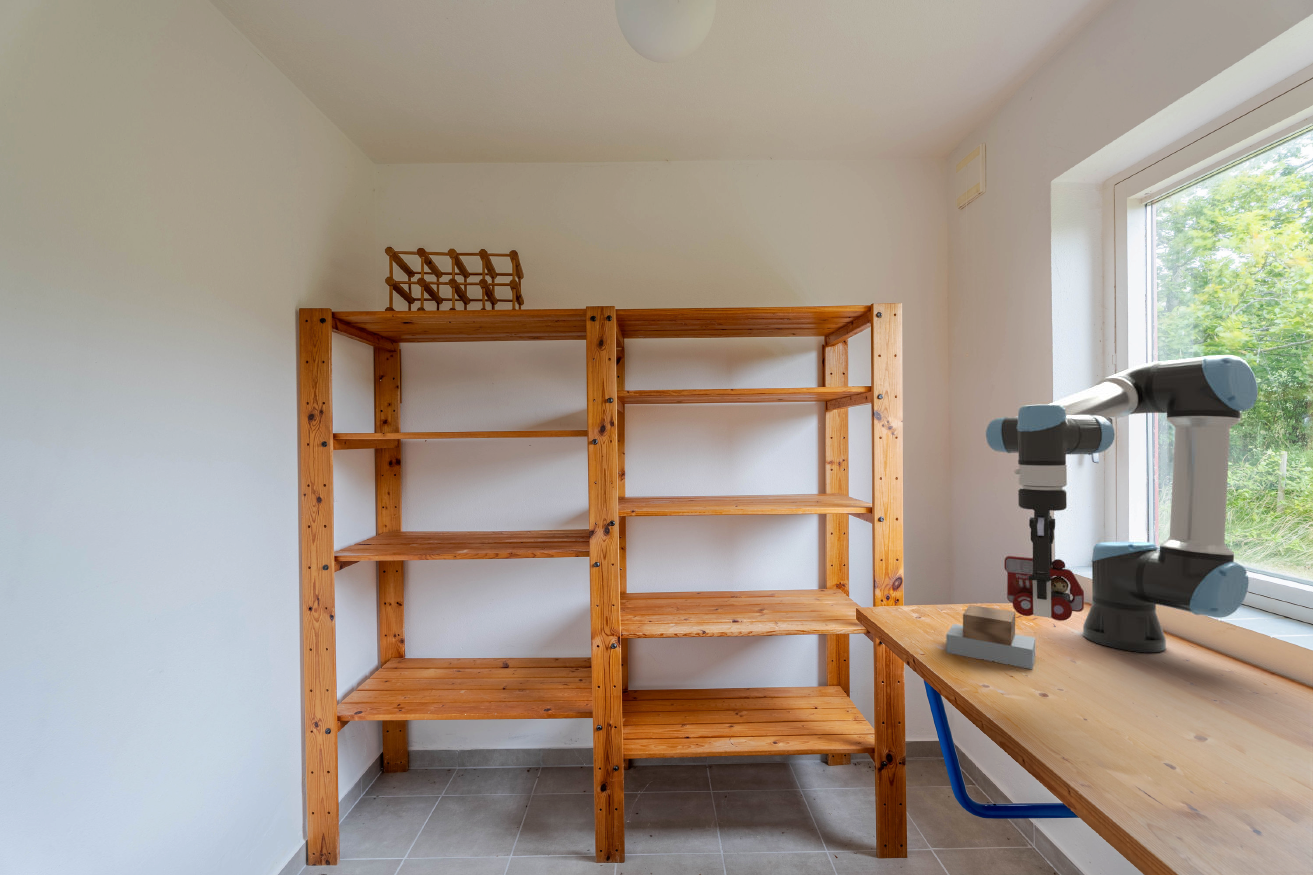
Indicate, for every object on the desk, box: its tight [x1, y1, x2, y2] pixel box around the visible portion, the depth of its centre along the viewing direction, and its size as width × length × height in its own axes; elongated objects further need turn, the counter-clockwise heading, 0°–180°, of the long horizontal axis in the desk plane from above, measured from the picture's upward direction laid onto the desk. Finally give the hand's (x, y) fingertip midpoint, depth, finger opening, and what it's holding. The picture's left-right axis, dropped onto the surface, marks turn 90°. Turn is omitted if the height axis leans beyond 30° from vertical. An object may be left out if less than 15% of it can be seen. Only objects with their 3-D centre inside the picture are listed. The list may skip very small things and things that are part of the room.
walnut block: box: [962, 604, 1016, 646], centre depth 129 cm, size 9×9×5 cm
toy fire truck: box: [1004, 555, 1085, 622], centre depth 111 cm, size 7×12×10 cm, turn 56°
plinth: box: [945, 623, 1036, 670], centre depth 129 cm, size 16×9×4 cm, turn 54°
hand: (1043, 610), depth 111 cm, fingers closed on toy fire truck, 7 cm apart
